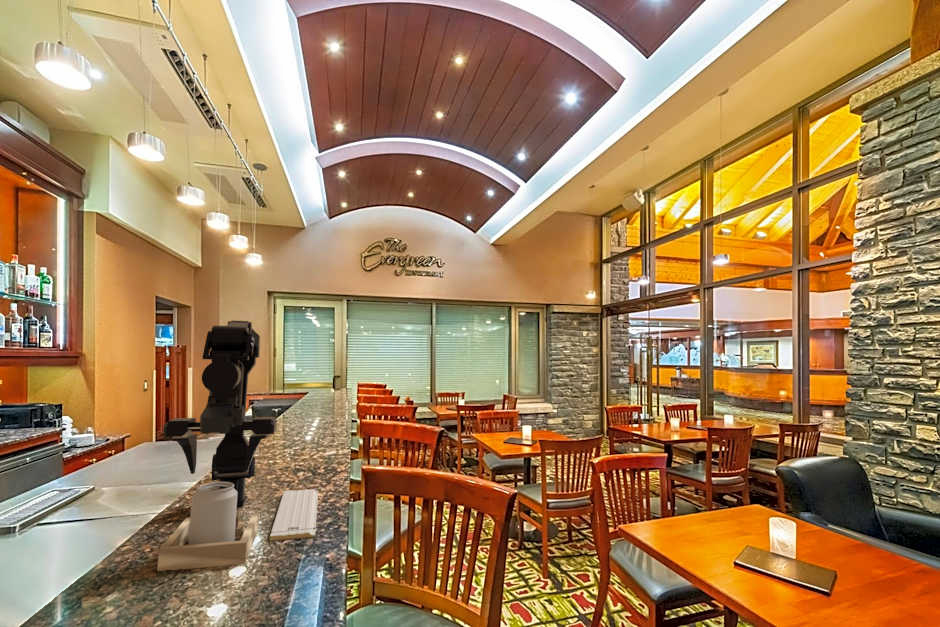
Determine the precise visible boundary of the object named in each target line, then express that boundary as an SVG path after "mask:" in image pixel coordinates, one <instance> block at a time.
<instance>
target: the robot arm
mask: <svg viewBox="0 0 940 627" xmlns="http://www.w3.org/2000/svg"><path fill="white" fill-rule="evenodd" d="M260 345H261V336H260V335H259V334H258V332H256V331H255V330H254V329H253V324H252V322H250V321H249V320H233V319H231V320H230V321H227V325H213V326H212V327H211V330H208V331H207V335H206V339H205V343H204V347H203V352H202V360H211V362H210V363H209V364H208V365H206V366H205V367H204V369H203V372H202V373H201V383H202V384H203V386H204V388H206V390H208V397H207V403H206V406H205V407H204V409H203V411H202V413H201V414H200V417H199V421H197V419H196V417H176V418H173V419H171V420H168V421H167V422H165V424H164V426H163V433H162V437H163V438H170V437H171V438H170V440H171V442H177V444H178V445H179V446H180V447H181V449H182V451H183V453H184V456H185V459H186V462H187V465H188V468H189V472H190V474H191V475H194V474H195V472H196V467H197V448H198V447H197V445H198V443H197V442H198V439H197V438H198V432H199V433H201V434H202V435H208V434H218V433H219V434H221V435H222V434H224V437H223V438H222V440H221V441H220V442H219V444H218V445H217V446H216V449H215V453H213V455H212V461H211V481H212V482H215V481H218V482H230V483H233V484H234V487H233V488H234V489H235V490H236V491H237V492H238V494H237V507H244V505H245V504H246V501H247V500H248V496H247V495H245V489H246V488H245V487H246V479H251V478H252V477H255V472H256V458H255V457H254V456H255V454H256V451H257V449H258V447H259V445H260V443H261V441H262V440H265V439H267V438H268V437H269V435H273V434H274V433H276V432H277V425H278V423H277V422H278V420H277V417H275V416H255V417H254V418H253V419H252V420H246V414H247V413H246V411H247V400H248V399H247V398H248V387H249V386H248V383H249V375H250V373H251V371H252V370H253V369H254V368H255V366H256V364H257V358H260V351H261V346H260ZM245 431H251V433H252V434H250V435H249V438H247V437H246V435H245Z"/></svg>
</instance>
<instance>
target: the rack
mask: <svg viewBox="0 0 940 627" xmlns="http://www.w3.org/2000/svg"><path fill="white" fill-rule="evenodd" d="M259 521H260V512H257V513H256V512H254V513H252V515H251V517H250V518H249V521H248V523H247V525H246V528H244V532H243V534H242V537H241V539H239V540H234V541H229V542H217V543H205V544H193V545H188V544H187V543H188V541H189V527H190V517H185V519H184V520H183V521H182V522H181V523H180V524H179V526H177V528H176V529H175V531H174V532H173V533H172V534H171V535H170V536H169V538H168V539H167V540H166V541H165V542H164V544H163V545H162V546H161V547H160V548H159V550H158V557H157V568H156V569H157V570H156V571H162V572H167V571H166V570H172V571H179V569H182V570H190V569H201V568H211V567H212V568H213V567H220V566H221V567H222V566H230V565H231V566H232V565H243V564H246V562H247V560H248V557H249V554H250V552H251V550H252V547H253V545H254V542H255V540H256V537H257V534H258V532H259V525H260V524H259ZM186 542H187V543H186ZM164 570H165V571H164Z"/></svg>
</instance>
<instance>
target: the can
mask: <svg viewBox="0 0 940 627" xmlns="http://www.w3.org/2000/svg"><path fill="white" fill-rule="evenodd" d="M233 487H234V484H233V483H230V482H219V481H212V482H208V483H204V484H201V485H199V486H197V487H196V489H195V490H196V492H195V493H194V494H193V495H192V496H191V500H190V502H191V503H190V513H189V514H190V515H189V516H190V517H189V518H190V527H189V540H188V541H187V543H188V544H187V545H193V544H205V543H217V542H229V541H236V539H235V524H236V512H237V494H238V492H237V491H236V490H235V489H234V488H233Z"/></svg>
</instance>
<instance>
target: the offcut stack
mask: <svg viewBox="0 0 940 627" xmlns="http://www.w3.org/2000/svg"><path fill="white" fill-rule="evenodd" d="M239 517H240V512H237V511H236V524H235V540H241V538H242V536H243V534H244V531H245V522H244V521H239Z"/></svg>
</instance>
